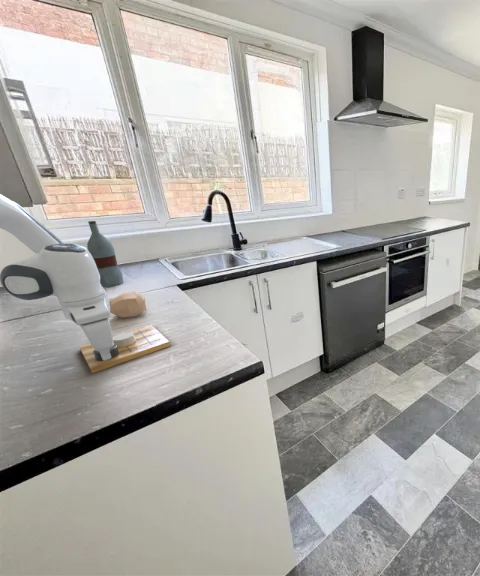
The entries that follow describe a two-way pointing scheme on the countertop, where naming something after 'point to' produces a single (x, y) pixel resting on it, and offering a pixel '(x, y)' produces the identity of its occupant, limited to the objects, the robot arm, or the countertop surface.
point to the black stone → (113, 352)
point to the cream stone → (124, 339)
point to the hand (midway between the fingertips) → (103, 352)
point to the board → (128, 348)
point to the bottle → (104, 257)
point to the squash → (127, 305)
